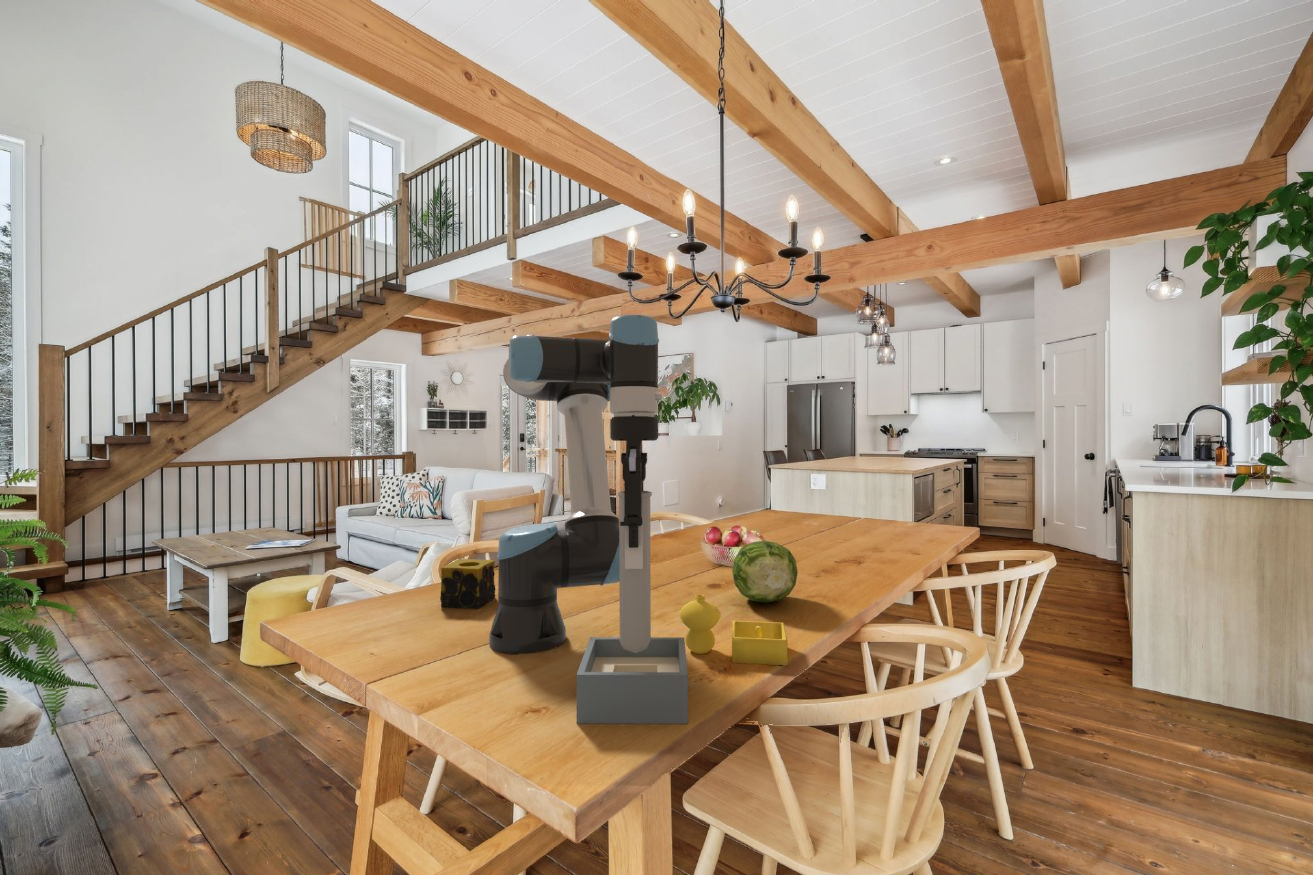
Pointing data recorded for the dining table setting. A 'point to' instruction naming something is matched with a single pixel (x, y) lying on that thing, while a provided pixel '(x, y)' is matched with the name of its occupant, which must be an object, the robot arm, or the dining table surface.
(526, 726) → the dining table surface
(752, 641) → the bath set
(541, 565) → the robot arm
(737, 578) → the lettuce
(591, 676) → the box
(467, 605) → the yellow and black cube
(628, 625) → the tube
